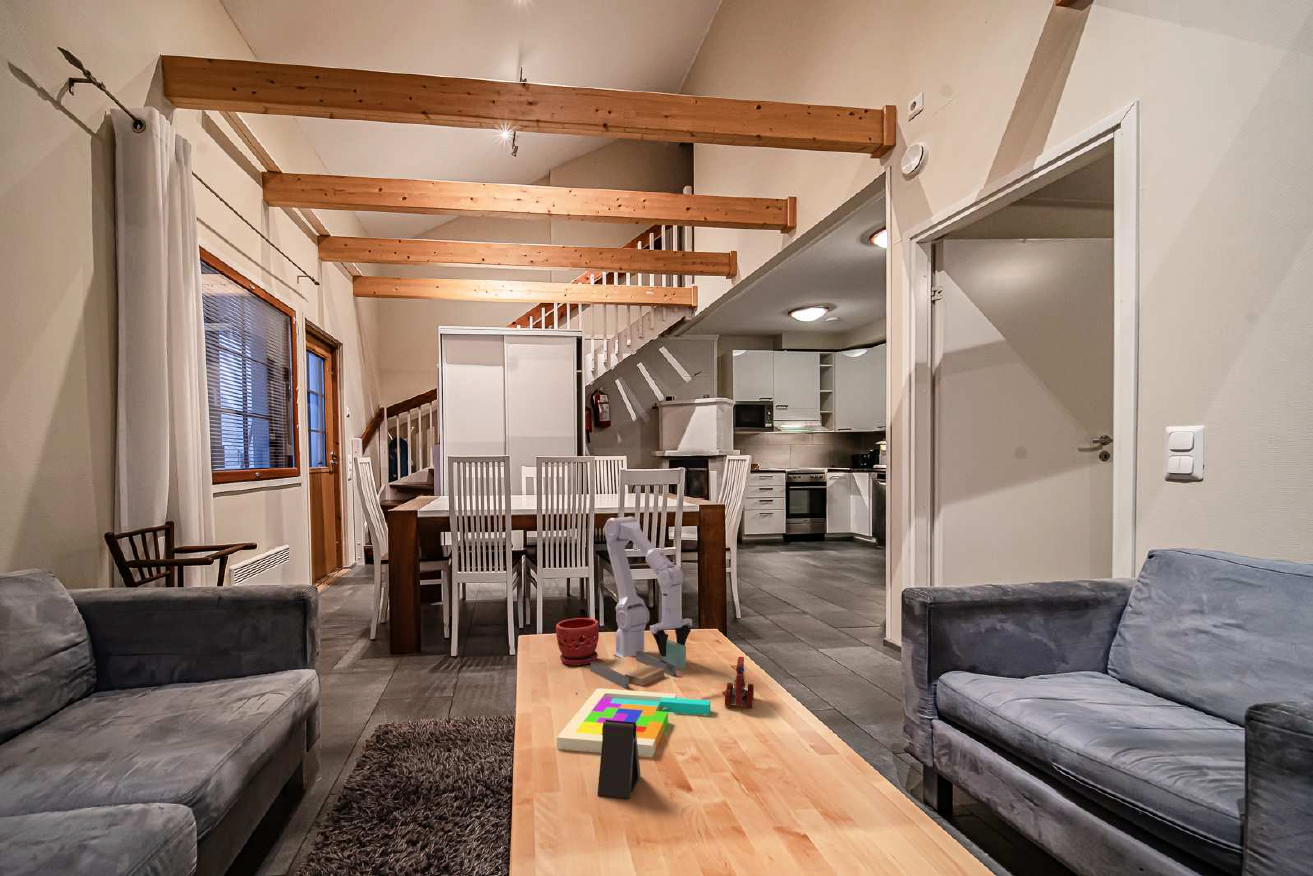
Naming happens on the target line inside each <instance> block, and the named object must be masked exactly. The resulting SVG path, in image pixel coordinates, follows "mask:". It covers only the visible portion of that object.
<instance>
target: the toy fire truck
mask: <svg viewBox="0 0 1313 876" xmlns="http://www.w3.org/2000/svg"><path fill="white" fill-rule="evenodd" d="M744 665H745V658H744V656H737V664H736V669H735V671H736V675H735V680H733V682H727V683H726V689H725V690H724V707H726V708H731V707H732V705H735V707H742V706H743V703H745V708H746V709H753V701H754V700H755V699H754V697H755V696H754V693H755V692H754V691H755V689H754V688H755V687H754V684H753V683H748V684H747V689H745V688H746V681H745V677H746V676H745V675H744V674H745V666H744Z"/></svg>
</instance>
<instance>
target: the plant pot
mask: <svg viewBox="0 0 1313 876" xmlns="http://www.w3.org/2000/svg"><path fill="white" fill-rule="evenodd" d="M599 626H600V625H599V621H598V620H597V619H593V618H591V617H590V618H588V617H579V618H577V617H575V618H569V619H565V620H562V621H559V622H558V623H557V624H556V626H555V630H556V631H555V632H556V634H555V636H556V641H557V646H558V649H559V652H560V653H561V654H560V656H559V659H560V661H561V662H562V664H563V663H564V664H565V665H569V666H575V667H577V666H584V665H588V664H591V662H592V661H595V662H596V659H598V655H599V652H597V651H596V650H597V647H598V643H599V635H600V634H599V632H600V631H599V630H600V627H599Z"/></svg>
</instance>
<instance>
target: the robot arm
mask: <svg viewBox="0 0 1313 876" xmlns="http://www.w3.org/2000/svg"><path fill="white" fill-rule="evenodd" d="M603 532H604V536H605V540H606V547H607V552H608V557H609V561H610V565H611V569H612V572H613V573H612V574H613V575H614V580H615V585H616V589H617V592H618V596H619V599H620V600H619V601H618V603H617V604H616V606H615V608H614V609H615V612H616V615H615V618H616V619H615V620H616V623H617V624H616V625H617V626H618V627H619V628H618V629H617V630H616V633H615V652H613V655H614V656H615V657H617V658H619V659H622V658H628V657H636V652H637V651H641V652H643V653H645V628H646V626H647V624H648V623H649V621H650V611H649V609H648V607H647V606H646V604H645V600H644V599H642V598H641V597H640V596H639V595H637V591H636V587H635V583H634V579H633V575H632V571H631V567H630V563H629V559H628V556H627V551H626V546H627V544H628V543H629V542H630V541H631V542H632V543H633V544H634V545H635V546H636V547H637V548H638V550H640V551H641V552H642V553H643V554H644V556H645V562H646V564H647V565H648V566H649V567H650V569H651V570H652V571H653V572H654V573H655V574H656V576H657V583H658V585H659V588H660V593H661V621H660V622H657V623H655V624H652V625H649V633H651V634H652V636H653V638H654V640H655V642H656V645H657V648H658V652H659V656H660V655H661V656H663V657H665V656H666V644H667V640H669V639H668V638H669V634H668V633H666V632H667V631H669V630H674V632H675V637H676V638H675V639H676V643H678V644H681V645H684V646H686V642H687V639H688V637H689V635H690V633H691V630H692V628H691V627H692V626H693V619H691V618H682V616H681V615H682V601H681V599H682V597H681V595H682V593H681V592H682V589H681V587H682V585H683V583H685V582H684V581H685V580H686V579H685V577H686V576H685V572H684V570H683V569H682V566H679V565H675V563H673V562H672V561H671V560H670V559H669V558H668V557H667V555H665V552H664V550H662V549H659V548H654V546H653V544H652V543H651V542H650V540H649V539H648V538H647V536H646V535H645V534H644V532H643V531H642V528H641V524H640V522H639V521H638V520H637V519H636V518H635V517H634V516H631V515H629V516H625V517H624V516H623V517H615V518H614V517H610V518H608V519H607V520H606V522H605V525H604V527H603ZM665 631H666V632H665Z"/></svg>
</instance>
